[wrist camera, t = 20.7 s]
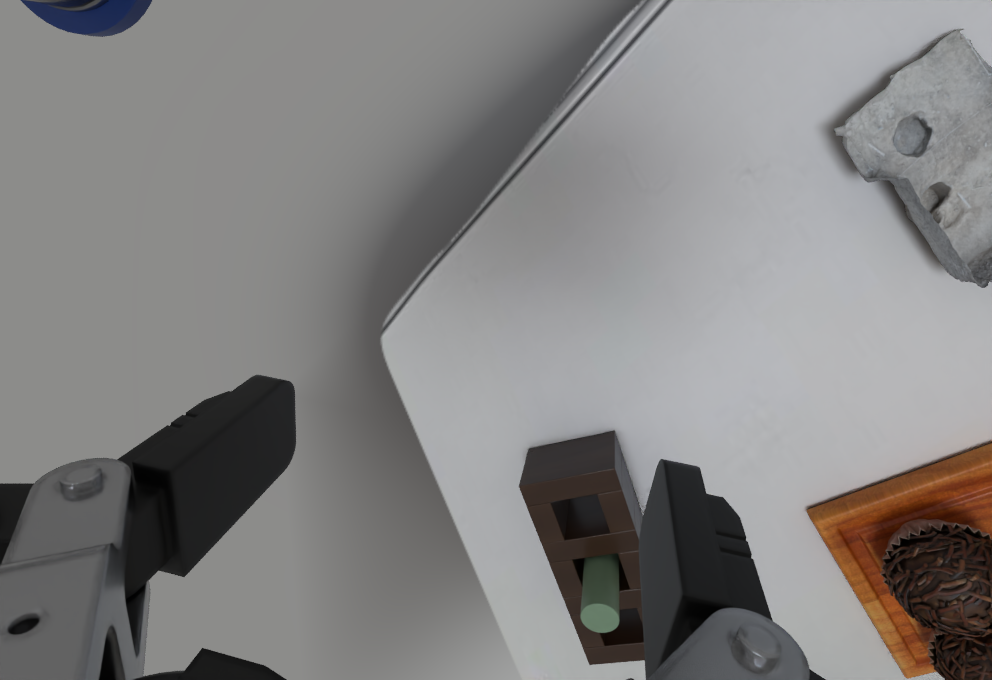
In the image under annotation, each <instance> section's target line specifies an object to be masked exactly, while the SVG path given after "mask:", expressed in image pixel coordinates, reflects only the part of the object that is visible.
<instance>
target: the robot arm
mask: <svg viewBox="0 0 992 680" xmlns="http://www.w3.org/2000/svg"><path fill="white" fill-rule="evenodd" d="M27 1H32V2H36V3H41V4H46V5H49V6H51V7H54V8H58V9H62V10H67V11H73V12H85V11H90V10H93V9H96V8H98V7H100V6H102V5H103V4H104V3H106V2H107V1H108V0H27ZM295 423H296V422H295V390H294V386H293V384H292V383H291V382H290V381H286V380H281V379H277V378H272V377H267V376H262V375H255V376H253V377H251V378H250V379H249V380H247V381H246V382H244V383H243V384H242V385H240V386H238V387H237V388H236V389H234V390H233V391H231V392H230V391H228V392H225V393H222V394H220V395H217V396H214V397H212V398H209V399H206V400H204V401H202V402H201V403H199V404H198V405H196V406H195V407H194V408H192V409H191V410H189V411H188V412H186V415H182V416H180V417H179V418H177V419H176V420H175V421H173V422H172V423H171V425H170V426H166V427H164V428H163V429H161V430H160V431H158V432H157V433H155V434H154V435H153V436H151V437H150V438H148V439H147V440H145V441H144V442H142V443H141V444H139V445H138V446H136V447H135V448H133V449H132V450H131V451H129V452H128V453H126V454H125V455H123V456H122V457H120V458H119V459H117V460H115V459H109V458H93V459H86V460H80V461H76V462H72V463H69V464H66V465H63V466H61V467H58V468H56V469H54V470H52V471H50V472H48V473H47V474H45V475H44V476H42V477H41V478H40V479H39V480H37V481H36V482H35V484H0V680H286V679H285V678H283V677H281V676H280V675H278V674H277V673H275V672H274V671H272V670H271V669H269V668H268V667H266V666H264V665H260V664H257V663H254V662H250V661H246V660H243V659H239V658H235V657H232V656H228V655H225V654H222V653H218V652H215V651H211V650H208V649H204V648H202V649H201V651H200V652H199V653H198V654H197V656H196V657H195V658H194V660H193V661H192V662H191V664H190V665H189V666H188V667H187V668H186V670H185V671H173V672H164V673H158V674H153V675H148V676H143V674H144V661H145V649H146V638H147V626H148V614H149V602H150V585H149V579H150V578H151V577H152V576H153V575H154V574H155V573H156V572H157V571H158V570H159V571H164V572H167V573H171V574H175V575H178V576H182V577H185V576H186V575H187V574H188V573H189V572H190V570H191V569H192V568H193V567H194V566H195V565H196V564H197V563H198V562H199V561H200V560H201V559H202V558H203V557H204V556H205V555H206V553H207V552H208V551H209V550H210V549H211V548H212V547H213V546H214V545H215V544H216V543H217V542H218V541H219V540H220V539H221V538H222V536H223V535H224V534H225V533H226V532H227V531H228V530H229V529H230V528H231V527H232V526H233V525H234V524H235V522H237V520H238V519H239V518H240V517H241V516H242V515H243V514H244V513H245V512H246V511H247V510H248V509H249V508H250V507H251V506H252V505H253V504H254V502H255V501H256V500H257V499H258V498H259V497H260V496H261V495H262V494H263V493H264V492H265V491H266V490H267V489H268V488H269V487H270V485H271V484H272V483H273V482H274V481H275V480H276V479H277V478H278V477H279V476H280V475H281V474H282V473H283V472H284V471H285V469H286V468H287V467H288V465H289V464H290V462H291V460H292V457H293V454H294V451H295V446H296V424H295ZM751 555H752V554H751V551H750V548H749V545H748V542H747V541H746V535H745V532H744V529H743V526H742V523H741V520H740V517H739V516H738V515H737V513H736V512H735V511H734V510H733V509H732V507H731V506H730V505H729V504H728V503H727V501H726V500H725V499H724V498H723V497H718V496H714V495H709V494H706V491H705V487H704V483H703V479H702V474H701V471H700V468H699V467H697V466H693V465H688V464H683V463H678V462H673V461H668V460H664V459H661V460H660V461H659V463H658V466H657V469H656V472H655V476H654V480H653V483H652V487H651V490H650V494H649V498H648V501H647V505H646V509H645V512H644V516H643V520H642V524H641V530H640V537H639V565H640V583H641V600H642V618H643V636H644V653H645V671H646V680H825V679H824V678H822V677H820V676H819V675H817V674H816V673H814V672H813V671H811V670H810V669H809V665H808V662H807V659H806V657H805V655H804V653H803V651H802V649H801V648H800V647H799V645H798V644H797V642H796V641H795V640H794V639H793V638H792V637H791V636H790V635H789V634H788V633H787V632H786V631H785V630H784V629H783V628H781V627H780V626H779V625H777V624H776V623H775V622H773V621H772V618H771V614H770V611H769V608H768V605H767V602H766V599H765V595H764V592H763V589H762V586H761V583H760V580H759V576H758V573H757V570H756V567H755V564H754V561H753V559H751ZM627 680H634V679H632V678H630V679H627Z"/></svg>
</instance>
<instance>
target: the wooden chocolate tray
mask: <svg viewBox="0 0 992 680" xmlns="http://www.w3.org/2000/svg"><path fill="white" fill-rule="evenodd" d="M807 513H808V515H809V517H810V519H811V521H812V522H813V524H814V526H815V527H816V529H817V531H818V532H819V534H820V536H821V537H822V539H823V541H824V542H825V544H826V546H827V547H828V549H829V551H830V552H831V554H832V556H833V557H834V559H835V561H836V562H837V564H838V566H839V567H840V569H841V571H842V572H843V574H844V576H845V577H846V579H847V581H848V582H849V584H850V586H851V587H852V589H853V591H854V592H855V594H856V596H857V597H858V599H859V601H860V602H861V604H862V606H863V607H864V609H865V611H866V613H867V614H868V616H869V618H870V619H871V621H872V623H873V624H874V626H875V628H876V629H877V631H878V633H879V634H880V636H881V638H882V639H883V641H884V643H885V644H886V646H887V648H888V649H889V651H890V653H891V654H892V656H893V658H894V659H895V661H896V663H897V664H898V666H899V668H900V669H901V671H902V673H903V674H904V676H905V677H906V678H911V677H916V676H920V675H924V674H928V673H932V672H938V673H939V674H940V675H941V676H942V677H943V678H945V680H992V443H991V444H988V445H985V446H982V447H980V448H977V449H974V450H971V451H969V452H966V453H963V454H960V455H957V456H955V457H952V458H949V459H946V460H944V461H941V462H938V463H935V464H933V465H930V466H927V467H924V468H921V469H919V470H916V471H913V472H910V473H908V474H905V475H902V476H899V477H896V478H894V479H891V480H888V481H885V482H883V483H880V484H877V485H874V486H871V487H869V488H866V489H863V490H860V491H858V492H855V493H852V494H849V495H847V496H844V497H841V498H838V499H835V500H833V501H830V502H827V503H824V504H822V505H819V506H816V507H813V508H810V509H808V510H807Z"/></svg>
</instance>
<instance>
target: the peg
mask: <svg viewBox="0 0 992 680" xmlns="http://www.w3.org/2000/svg"><path fill="white" fill-rule="evenodd" d="M580 616H581V620H582V622H583V624H584V625H585V626H586V627H587V628H588V629H590V630H592V631H594V632H598V633H607V632H611V631H613V630H614V629H616V628H617V626H618V625H619V621H620V614H619V556H618V553H614V554H607V555H600V556H593V557H587V558H584V571H583V586H582V600H581V615H580Z"/></svg>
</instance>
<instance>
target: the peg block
mask: <svg viewBox="0 0 992 680" xmlns="http://www.w3.org/2000/svg"><path fill="white" fill-rule="evenodd" d="M519 488H520V490H521V493H522V495H523V498H524V500H525V503H526V505H527V508H528V511H529V513H530V516H531V518H532V521H533V523H534V526H535V528H536V531H537V533H538V536H539V538H540V541H541V543H542V546H543V548H544V551H545V553H546V556H547V558H548V561H549V564H550V566H551V569H552V571H553V574H554V576H555V579H556V581H557V584H558V586H559V589H560V591H561V594H562V596H563V599H564V601H565V604H566V606H567V609H568V611H569V614H570V616H571V619H572V621H573V624H574V626H575V629H576V631H577V634H578V637H579V639H580V642H581V644H582V647H583V649H584V652H585V654H586V657H587V660H588V662H589V664H590V665H593V664H605V663H616V662H628V661H640V660H645V653H644V636H643V618H642V600H641V583H640V565H639V537H640V530H641V524H642V520H643V516H642V513H641V510H640V507H639V503H638V500H637V497H636V494H635V491H634V488H633V485H632V482H631V479H630V476H629V473H628V470H627V467H626V464H625V461H624V458H623V454H622V452H621V448H620V445H619V442H618V439H617V436H616V433H615V431H613V432H608V433H603V434H598V435H594V436H589V437H584V438H579V439H574V440H570V441H565V442H560V443H555V444H551V445H546V446H541V447H536V448H532V449H529V450H528V454H527V457H526V461H525V465H524V469H523V473H522V477H521V480H520V484H519ZM614 553H618V556H619V614H620V621H619V625H618V626H617V628H616V629H614V630H613V631H611V632H607V633H598V632H594V631H592V630H590V629H588V628H587V627H586V626H585V625H584V624H583V622H582V620H581V616H580V615H581V600H582V586H583V571H584V558H587V557H593V556H600V555H607V554H614Z"/></svg>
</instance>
